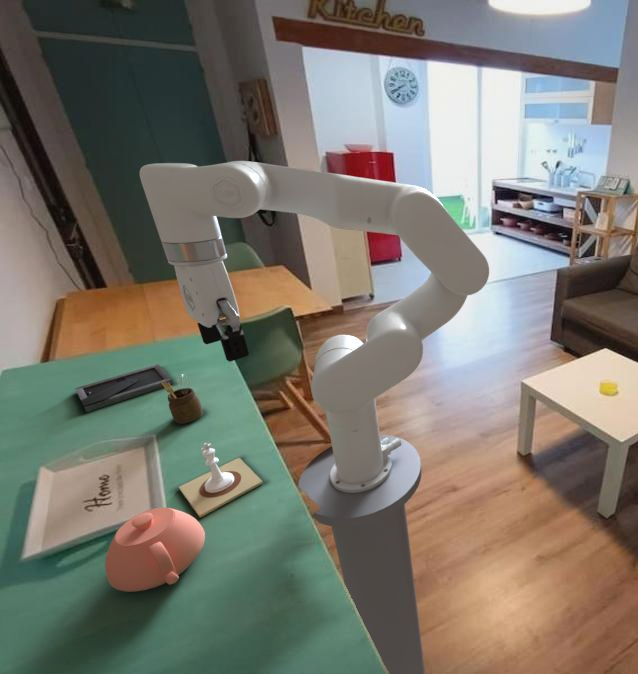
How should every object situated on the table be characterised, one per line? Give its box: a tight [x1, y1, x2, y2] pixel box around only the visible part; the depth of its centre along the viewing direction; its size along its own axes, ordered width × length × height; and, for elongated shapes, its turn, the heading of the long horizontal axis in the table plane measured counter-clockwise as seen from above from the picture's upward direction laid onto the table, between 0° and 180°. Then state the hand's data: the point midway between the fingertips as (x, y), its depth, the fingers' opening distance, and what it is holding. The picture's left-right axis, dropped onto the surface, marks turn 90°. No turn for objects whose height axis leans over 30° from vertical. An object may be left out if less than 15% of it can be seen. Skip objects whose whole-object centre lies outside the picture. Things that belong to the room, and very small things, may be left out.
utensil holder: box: [161, 374, 204, 425], centre depth 100 cm, size 6×6×12 cm
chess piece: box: [200, 442, 234, 493], centre depth 81 cm, size 5×5×10 cm
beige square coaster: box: [178, 457, 264, 519], centre depth 83 cm, size 11×11×1 cm
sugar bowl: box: [104, 507, 206, 593], centre depth 65 cm, size 12×14×10 cm
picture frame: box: [74, 363, 175, 413], centre depth 114 cm, size 13×2×18 cm
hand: (226, 349), depth 71 cm, fingers open, 9 cm apart
